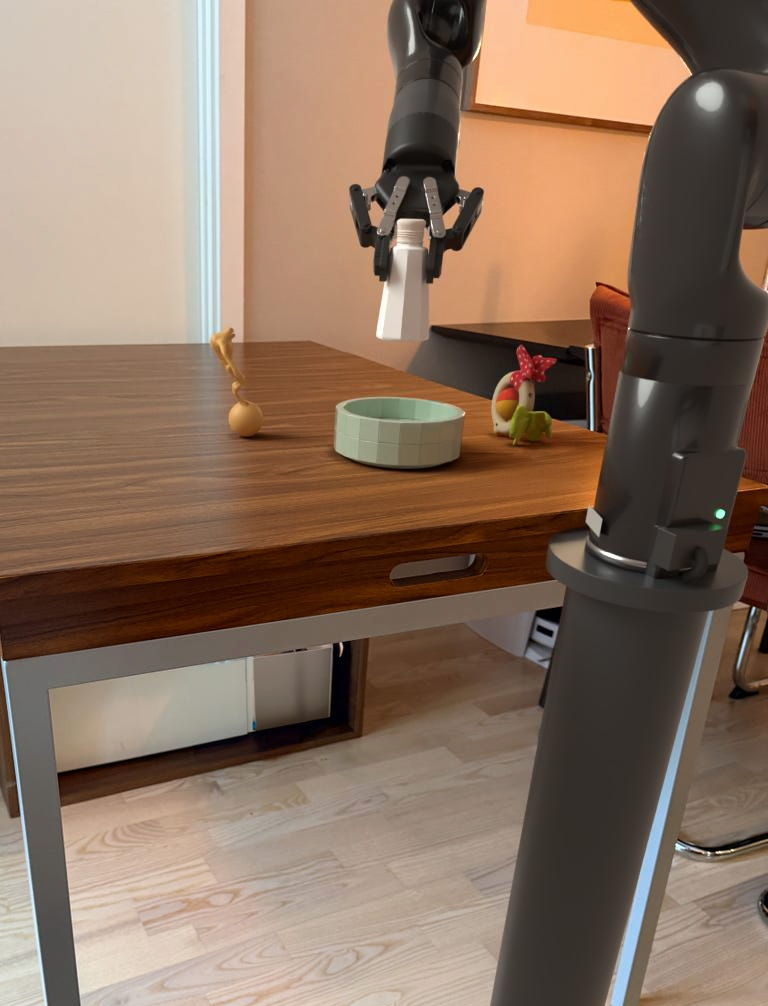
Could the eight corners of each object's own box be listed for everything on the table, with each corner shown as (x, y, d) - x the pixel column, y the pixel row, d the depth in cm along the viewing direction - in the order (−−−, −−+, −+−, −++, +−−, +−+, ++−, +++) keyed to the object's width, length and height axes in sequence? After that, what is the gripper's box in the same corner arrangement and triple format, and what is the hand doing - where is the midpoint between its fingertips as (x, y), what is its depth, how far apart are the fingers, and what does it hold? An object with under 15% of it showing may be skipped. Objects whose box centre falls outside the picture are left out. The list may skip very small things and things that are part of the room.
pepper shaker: (439, 340, 88) (451, 220, 83) (399, 343, 85) (409, 219, 80) (404, 333, 92) (414, 218, 87) (364, 336, 89) (372, 217, 84)
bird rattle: (475, 454, 104) (523, 439, 96) (464, 361, 103) (512, 338, 95) (517, 451, 106) (568, 436, 98) (507, 360, 106) (557, 337, 97)
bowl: (483, 466, 91) (489, 418, 89) (367, 476, 86) (371, 425, 84) (420, 437, 102) (424, 394, 100) (314, 444, 98) (316, 399, 95)
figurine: (267, 444, 97) (268, 332, 92) (213, 445, 96) (212, 331, 91) (258, 428, 105) (259, 323, 99) (208, 428, 104) (207, 322, 98)
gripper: (352, 108, 87) (331, 245, 81) (496, 110, 85) (485, 250, 79) (354, 170, 94) (335, 300, 88) (487, 174, 92) (476, 306, 86)
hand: (406, 276), depth 84 cm, fingers closed on pepper shaker, 4 cm apart
